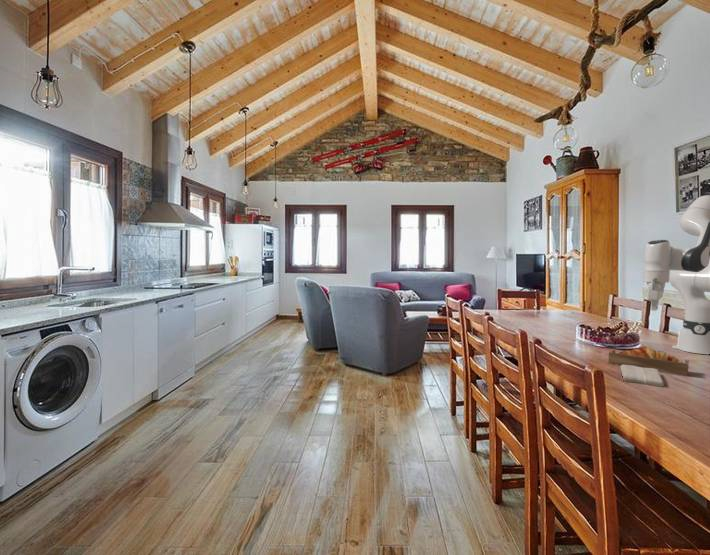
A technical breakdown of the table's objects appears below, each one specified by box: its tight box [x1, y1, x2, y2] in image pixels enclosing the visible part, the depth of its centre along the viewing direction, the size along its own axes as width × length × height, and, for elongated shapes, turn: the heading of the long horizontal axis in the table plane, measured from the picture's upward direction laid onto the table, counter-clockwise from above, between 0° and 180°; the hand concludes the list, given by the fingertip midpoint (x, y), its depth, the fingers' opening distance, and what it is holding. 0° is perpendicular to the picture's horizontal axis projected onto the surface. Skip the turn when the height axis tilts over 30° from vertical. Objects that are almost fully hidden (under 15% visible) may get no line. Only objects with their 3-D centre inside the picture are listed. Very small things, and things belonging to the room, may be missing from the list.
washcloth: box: [620, 365, 665, 387], centre depth 139 cm, size 12×18×3 cm, turn 148°
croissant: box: [618, 346, 684, 363], centre depth 159 cm, size 21×10×8 cm, turn 57°
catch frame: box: [608, 348, 690, 377], centre depth 152 cm, size 8×24×4 cm, turn 47°
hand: (654, 310), depth 164 cm, fingers closed
